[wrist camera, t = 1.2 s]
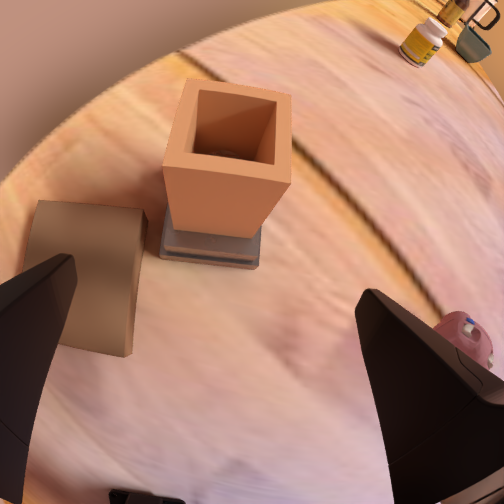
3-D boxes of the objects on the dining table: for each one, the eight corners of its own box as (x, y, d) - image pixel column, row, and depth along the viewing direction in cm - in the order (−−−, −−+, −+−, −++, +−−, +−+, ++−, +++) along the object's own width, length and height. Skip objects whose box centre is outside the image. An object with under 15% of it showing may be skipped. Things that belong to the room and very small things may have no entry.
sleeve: (251, 238, 19) (291, 183, 11) (174, 229, 18) (162, 165, 10) (256, 171, 20) (291, 95, 12) (186, 161, 19) (187, 78, 11)
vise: (254, 269, 22) (284, 244, 15) (161, 259, 21) (145, 227, 14) (260, 179, 24) (287, 126, 17) (177, 168, 23) (173, 109, 15)
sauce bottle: (438, 16, 54) (465, -17, 35) (452, 28, 54) (480, -4, 35) (433, 16, 52) (461, -19, 33) (448, 29, 52) (478, -6, 33)
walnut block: (132, 353, 19) (124, 357, 16) (31, 331, 17) (16, 331, 15) (148, 221, 21) (143, 209, 19) (51, 211, 20) (38, 200, 17)
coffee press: (452, 15, 63) (484, -23, 34) (446, 6, 68) (474, -29, 39) (480, 40, 65) (513, 5, 36) (473, 28, 69) (502, -4, 40)
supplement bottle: (418, 71, 35) (448, 37, 26) (393, 50, 35) (421, 14, 26) (425, 65, 37) (452, 34, 27) (402, 46, 37) (428, 13, 27)
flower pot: (473, 62, 48) (490, 46, 39) (474, 71, 45) (492, 53, 37) (451, 41, 48) (467, 23, 39) (449, 47, 45) (467, 28, 36)
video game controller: (452, 371, 25) (501, 347, 20) (449, 404, 22) (503, 382, 17) (410, 326, 25) (465, 294, 20) (404, 362, 22) (468, 331, 17)
